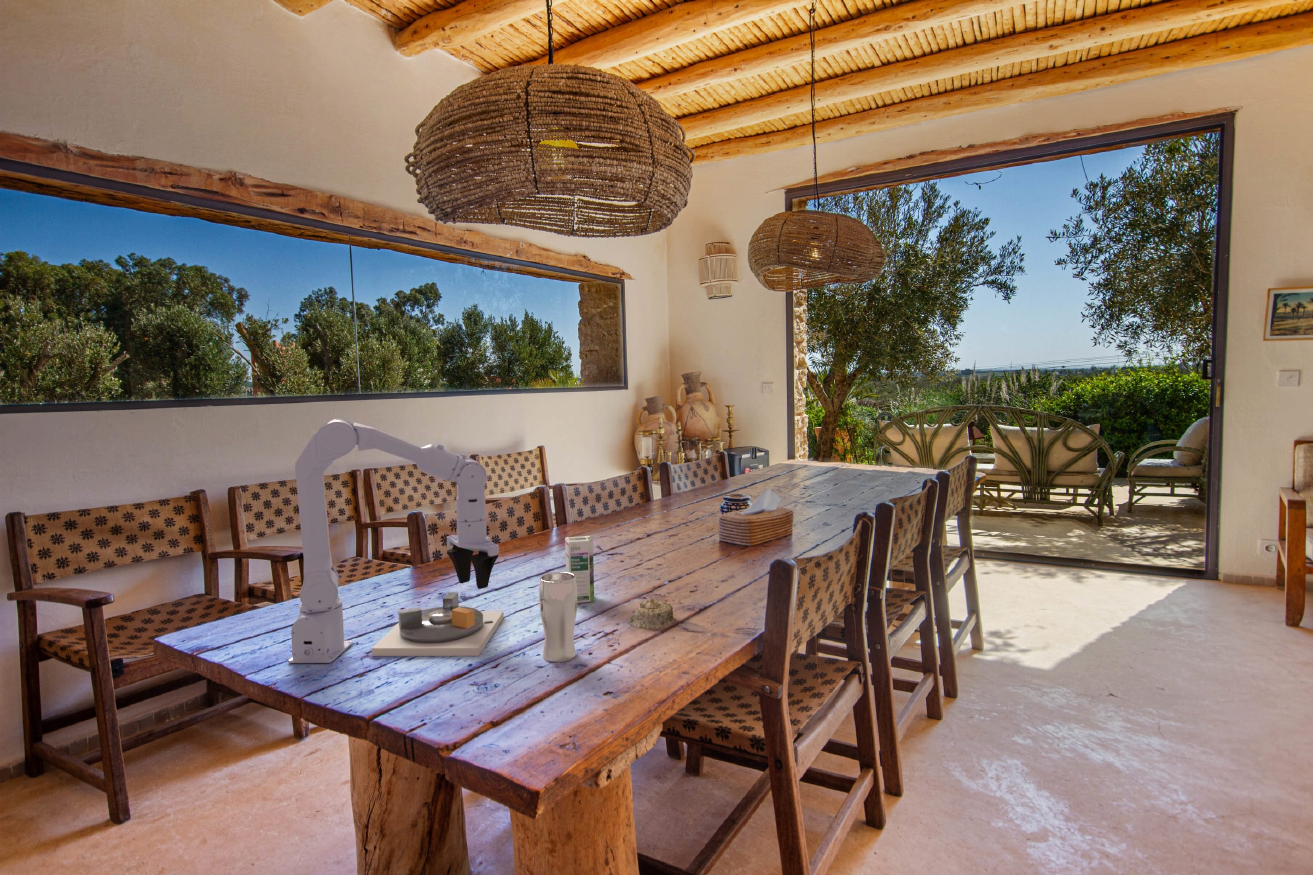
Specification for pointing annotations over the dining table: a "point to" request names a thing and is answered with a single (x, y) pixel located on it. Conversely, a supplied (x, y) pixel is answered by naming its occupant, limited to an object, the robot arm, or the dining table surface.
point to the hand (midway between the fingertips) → (473, 584)
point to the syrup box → (581, 565)
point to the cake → (652, 615)
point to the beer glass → (558, 615)
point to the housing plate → (461, 647)
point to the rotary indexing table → (440, 622)
